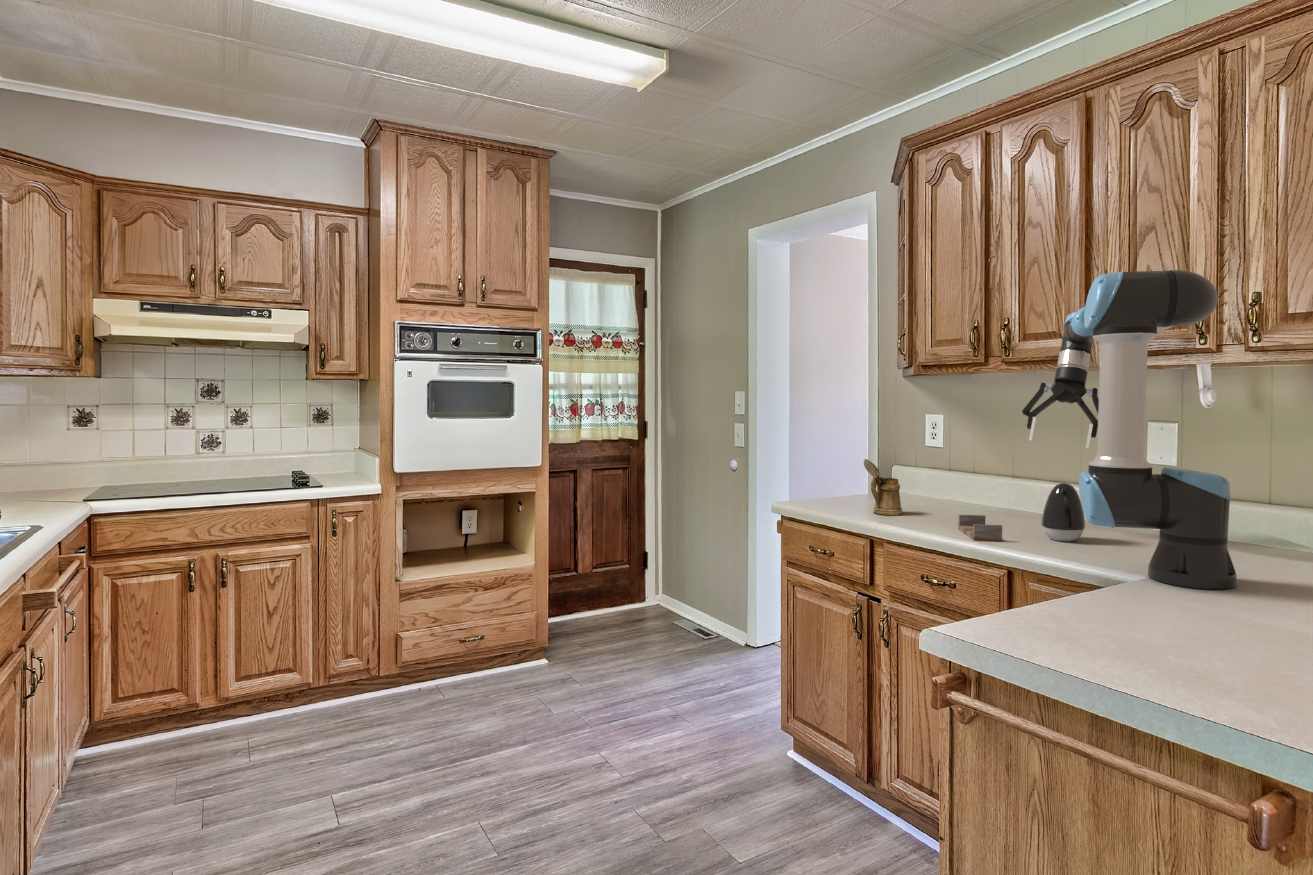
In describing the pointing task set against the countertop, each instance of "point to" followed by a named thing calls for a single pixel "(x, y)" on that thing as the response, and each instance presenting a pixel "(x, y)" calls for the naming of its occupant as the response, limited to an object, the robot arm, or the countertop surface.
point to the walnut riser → (979, 528)
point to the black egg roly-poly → (1063, 514)
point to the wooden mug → (884, 492)
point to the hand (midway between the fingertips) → (1058, 445)
